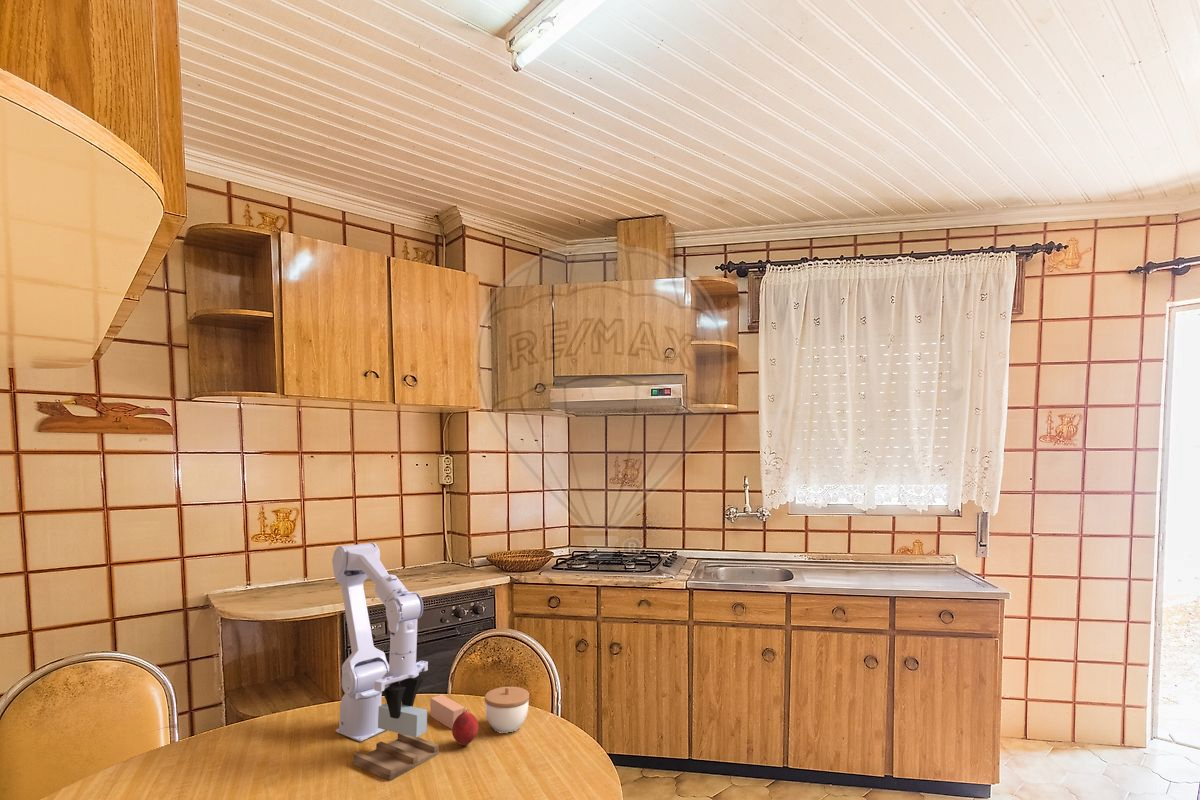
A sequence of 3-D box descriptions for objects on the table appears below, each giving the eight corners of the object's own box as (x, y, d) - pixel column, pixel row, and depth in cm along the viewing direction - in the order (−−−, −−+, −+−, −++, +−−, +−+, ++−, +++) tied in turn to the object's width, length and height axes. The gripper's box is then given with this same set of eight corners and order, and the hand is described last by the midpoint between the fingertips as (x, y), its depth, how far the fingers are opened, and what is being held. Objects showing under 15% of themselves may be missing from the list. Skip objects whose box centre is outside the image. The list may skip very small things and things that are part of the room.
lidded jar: (506, 714, 152) (506, 676, 153) (537, 725, 146) (538, 685, 147) (474, 730, 143) (475, 689, 144) (506, 742, 137) (507, 700, 138)
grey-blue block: (377, 727, 132) (378, 706, 133) (388, 722, 135) (389, 701, 136) (416, 737, 128) (417, 715, 128) (426, 731, 131) (427, 709, 131)
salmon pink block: (430, 716, 151) (430, 698, 151) (441, 712, 153) (442, 694, 154) (452, 730, 143) (453, 711, 144) (464, 726, 145) (465, 707, 146)
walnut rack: (352, 764, 127) (353, 754, 127) (402, 740, 138) (402, 731, 138) (389, 780, 121) (390, 770, 121) (438, 754, 132) (438, 744, 132)
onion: (471, 753, 132) (472, 715, 133) (447, 750, 133) (448, 713, 134) (481, 741, 138) (482, 704, 139) (458, 738, 139) (459, 702, 140)
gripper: (393, 663, 125) (390, 731, 124) (438, 643, 138) (437, 705, 137) (368, 658, 128) (365, 724, 127) (415, 639, 141) (413, 699, 140)
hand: (400, 714), depth 132 cm, fingers closed on grey-blue block, 3 cm apart
